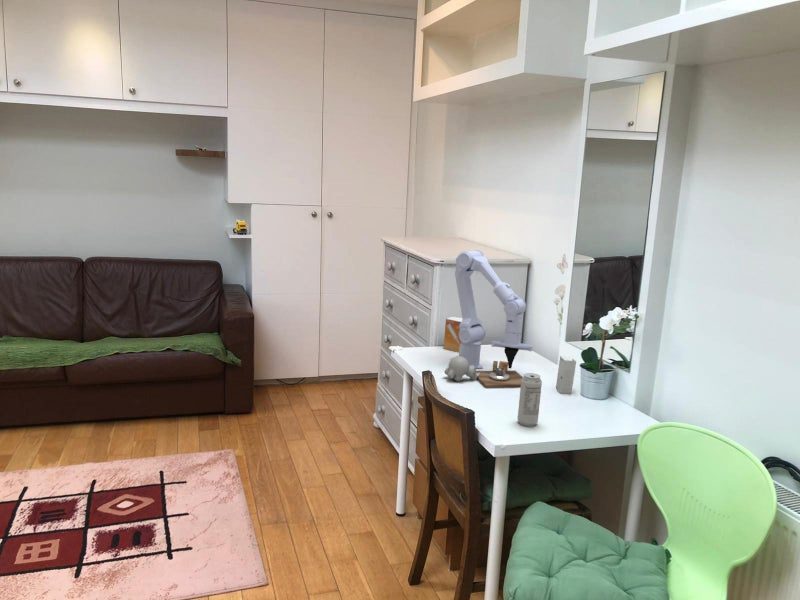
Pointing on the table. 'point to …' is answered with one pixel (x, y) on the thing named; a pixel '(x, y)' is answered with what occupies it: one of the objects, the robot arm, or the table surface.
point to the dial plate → (492, 375)
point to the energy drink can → (529, 399)
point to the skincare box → (566, 374)
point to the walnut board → (488, 382)
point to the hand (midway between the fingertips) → (510, 367)
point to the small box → (452, 334)
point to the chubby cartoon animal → (460, 369)
